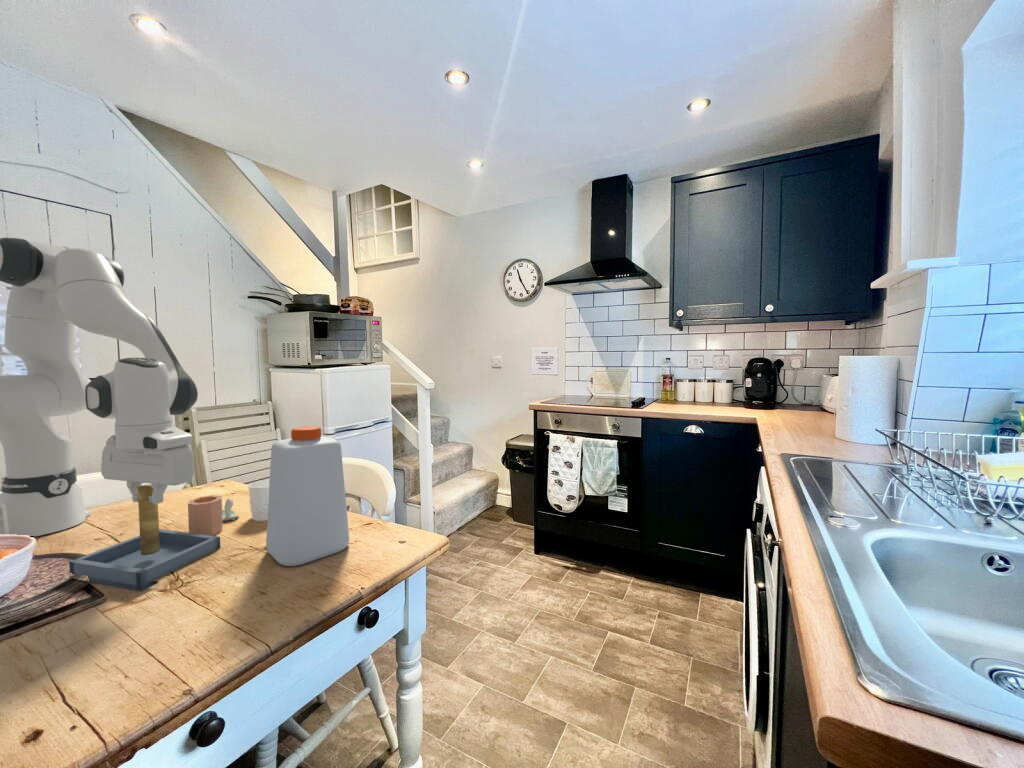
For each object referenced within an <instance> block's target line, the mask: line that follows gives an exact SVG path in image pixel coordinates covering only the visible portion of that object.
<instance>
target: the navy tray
mask: <svg viewBox="0 0 1024 768" xmlns="http://www.w3.org/2000/svg"><path fill="white" fill-rule="evenodd" d="M159 540H160V551H158V552H156V553H154V554H150V555H141V548H140V534H139V535H137V536H134V537H132V538H129V539H125V540H123V541H121V542H118V543H116V544H113V545H111V546H107V547H105V548H102V549H100V550H96V551H94V552H91V553H89V554H86V555H84V556H81V557H78V558H75V559H73V560H70V561H69V562H68V564H69V567H68V568H69V574H70V573H72V574H83V575H87V576H88V578H89V582H88V583H90V584H96V585H102V586H107V587H108V586H109V587H113V588H115V587H116V588H120V589H124V590H131V591H136V592H142V591H145V590H146V589H149V588H151V587H153V586H155V585H157V584H159V583H160V581H156V580H157V579H159V578H162V577H163V576H165V575H168V574H169V573H171V572H174V571H176V570H179V569H180V568H182V567H183V566H186V565H188V564H190V563H192V562H194V561H196V560H198V559H201V558H203V557H204V556H205V557H206V555H208V554H211V553H213V552H215V551H217V550H219V549H221V536H219V535H217V536H215V535H212V536H210V535H202V534H194V533H189V532H186V531H178V530H171V529H162V528H159Z"/></svg>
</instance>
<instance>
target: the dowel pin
mask: <svg viewBox="0 0 1024 768" xmlns="http://www.w3.org/2000/svg"><path fill="white" fill-rule="evenodd" d="M153 490H154V488H152V484H151V483H148V484H145V485H144V484H143V485H142V486H140V487H138V502H137V503H138V504H137V505H138V522H139V524H138V525H139V535H140V548H141V555H150V554H154V553H156V552H158V551H160V540H159V529H160V525H159V524H160V522H159V521H160V519H159V504H150V503H149V496H150V495H152V493H153Z"/></svg>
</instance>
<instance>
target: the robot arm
mask: <svg viewBox="0 0 1024 768" xmlns="http://www.w3.org/2000/svg"><path fill="white" fill-rule="evenodd" d="M0 282H2V283H5V284H8V285H12V286H11V289H10V292H9V295H8V298H7V303H6V304H7V305H6V311H5V312H6V313H5V325H4V326H5V328H4V346H5V349H6V350H7V352H9V353H10V354H11V355H14V356H15V357H18V358H19V359H21V360H22V362H23V363H24V365H25V367H26V371H27V373H26V374H18V375H17V374H16V375H14V374H13V375H12V374H11V375H9V374H8V375H0V443H1V446H2V449H3V455H4V464H5V465H4V466H5V473H6V474H5V475H6V476H4V477H3V478H1V480H3V481H0V483H1V488H0V489H1V490H0V491H1V493H0V534H17V535H29V536H34V537H39V536H44V535H47V534H52V533H56V532H61V531H64V530H68V529H69V528H73V527H74V526H77V525H80V524H83V522H85V520H86V518H87V517H89V516H91V515H92V511H91V509H87V508H86V502H85V497H84V491H83V487H82V486H80V485H78V484H76V483H77V480H78V479H77V478H78V477H77V476H78V473H77V469H76V467H74V454H73V453H74V452H73V442H72V440H71V438H70V437H69V436H67V435H65V434H63V433H60V432H58V431H57V430H55V428H54V426H53V425H52V423H51V421H50V418H51V417H59V416H65V415H66V416H68V415H73V414H76V413H78V412H82V411H85V410H87V411H89V412H90V413H92V414H93V415H95V416H96V417H99V418H101V419H112V420H115V421H114V434H112V435H111V436H109V438H108V439H107V440H106V441H105V446H104V448H103V450H102V453H101V465H100V468H101V469H100V472H101V475H102V477H103V478H104V479H105V480H109V481H111V480H112V481H120V482H126V487H127V489H128V490H129V493H131V499H132V500H131V501H132V502H133V503H138V487H140V486H143V485H142V484H152V488H154V490H153V493H152V495H150V496H149V503H150V504H158V505H159V504H162V503H163V502H164V495H165V491H166V489H167V488H168V487H169V486H180V485H183V484H185V483H186V484H187V483H190V482H191V481H192V479H193V477H194V475H195V474H194V472H195V470H194V469H195V465H194V463H195V462H194V452H193V450H192V448H191V447H190V445H191V444H193V435H192V434H191V433H189V432H187V431H184V430H183V429H180V428H179V427H177V426H175V425H173V417H172V416H180V415H183V414H185V413H186V412H188V411H189V410H190V409H191V408H192V407H193V406H194V405H195V404H196V402H197V400H198V396H199V395H198V394H199V393H198V388H197V385H196V383H195V382H194V380H193V379H192V378H191V376H190V375H189V374H188V373H187V372H186V371H185V370H184V368H183V366H182V365H181V363H180V361H179V360H178V357H176V355H175V354H174V351H173V350H172V348H171V347H170V345H169V343H168V342H167V340H166V338H165V336H164V334H163V333H162V331H161V330H160V328H159V327H158V326H157V324H156V322H155V321H154V320H153V319H152V318H151V317H150V316H148V315H146V314H145V313H143V312H142V311H140V310H139V309H138V308H137V307H135V305H133V303H131V301H130V300H129V299H128V297H127V295H126V294H125V291H124V284H125V273H124V270H123V268H122V267H121V265H120V264H119V263H118V262H117V261H115V260H113V259H111V258H108V257H106V256H104V255H102V254H100V253H98V252H96V251H93V250H91V249H86V248H79V247H78V248H72V247H69V246H59V245H56V244H48V243H44V242H39V241H38V242H36V241H29V240H26V239H25V238H19V237H0ZM75 326H76V327H77V328H79V329H82V330H84V331H86V332H89V333H92V334H95V335H99V336H105V337H109V338H113V339H114V340H119V341H121V342H124V343H127V344H129V345H131V346H133V347H135V348H137V349H138V350H139V351H140V352H141V353H142V354H143V356H144V357H126V358H120V359H119V360H117V361H115V364H114V367H113V370H111V371H110V372H108V373H105V374H102V375H98V376H96V377H94V378H93V379H90V378H88V377H87V376H86V375H85V374H84V373H83V372H82V370H81V368H80V367H79V364H78V362H77V360H76V356H75V352H74V351H75V350H74V342H75V341H74V340H75V339H74V338H75V335H74V333H75Z"/></svg>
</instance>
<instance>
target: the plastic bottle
mask: <svg viewBox="0 0 1024 768" xmlns="http://www.w3.org/2000/svg"><path fill="white" fill-rule="evenodd" d="M290 437H291V438H287V439H281V440H280V439H279V440H277V441H275V442H274V443H273V444H272V445H271V448H270V449H271V451H270V465H269V466H270V468H269V469H270V470H269V479H270V483H269V501H268V519H267V520H266V521H267V524H266V540H265V542H266V543H265V549H266V551H267V553H268V554H269V555H270V556H271V557H272V558H273V559H274V560H275V561H276V562H277V563H278V564H279V565H282V566H285V567H296V566H301V565H304V564H308V563H311V562H314V561H317V560H320V559H322V558H325V557H329V556H331V555H334V554H337V553H339V552H342V551H343V550H345V549H346V548H347V547H348V545H349V543H350V532H349V531H350V530H349V521H348V509H347V499H346V486H345V478H344V476H345V475H344V467H343V464H344V463H343V452H342V445H341V443H340V441H339V440H336V439H335V438H331V437H330V436H329V437H327V436H324V435H322V428H321V427H320V426H318V425H316V426H315V425H309V426H308V425H306V426H298V427H293V428H292V429H291V430H290Z"/></svg>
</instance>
